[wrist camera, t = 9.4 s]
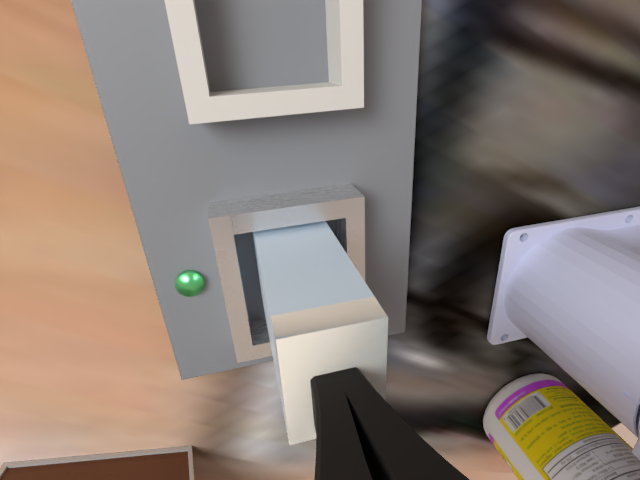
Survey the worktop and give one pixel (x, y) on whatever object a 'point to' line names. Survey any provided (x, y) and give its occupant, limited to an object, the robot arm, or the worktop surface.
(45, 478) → the food container
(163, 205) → the panel
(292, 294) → the plug
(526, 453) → the supplement bottle
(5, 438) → the worktop surface
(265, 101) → the frame
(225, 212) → the port
